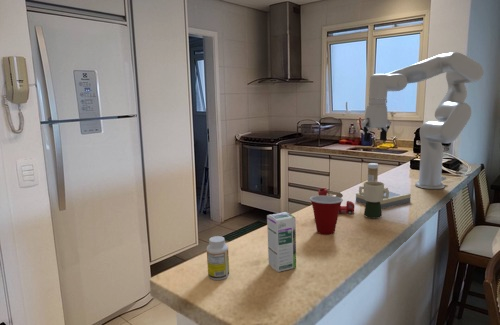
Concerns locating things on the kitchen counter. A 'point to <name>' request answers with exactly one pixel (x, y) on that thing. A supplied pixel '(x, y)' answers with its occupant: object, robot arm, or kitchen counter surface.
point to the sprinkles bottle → (372, 172)
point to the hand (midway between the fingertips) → (375, 140)
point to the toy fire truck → (343, 209)
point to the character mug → (373, 198)
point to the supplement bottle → (217, 258)
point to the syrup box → (281, 241)
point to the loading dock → (391, 201)
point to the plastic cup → (326, 213)
